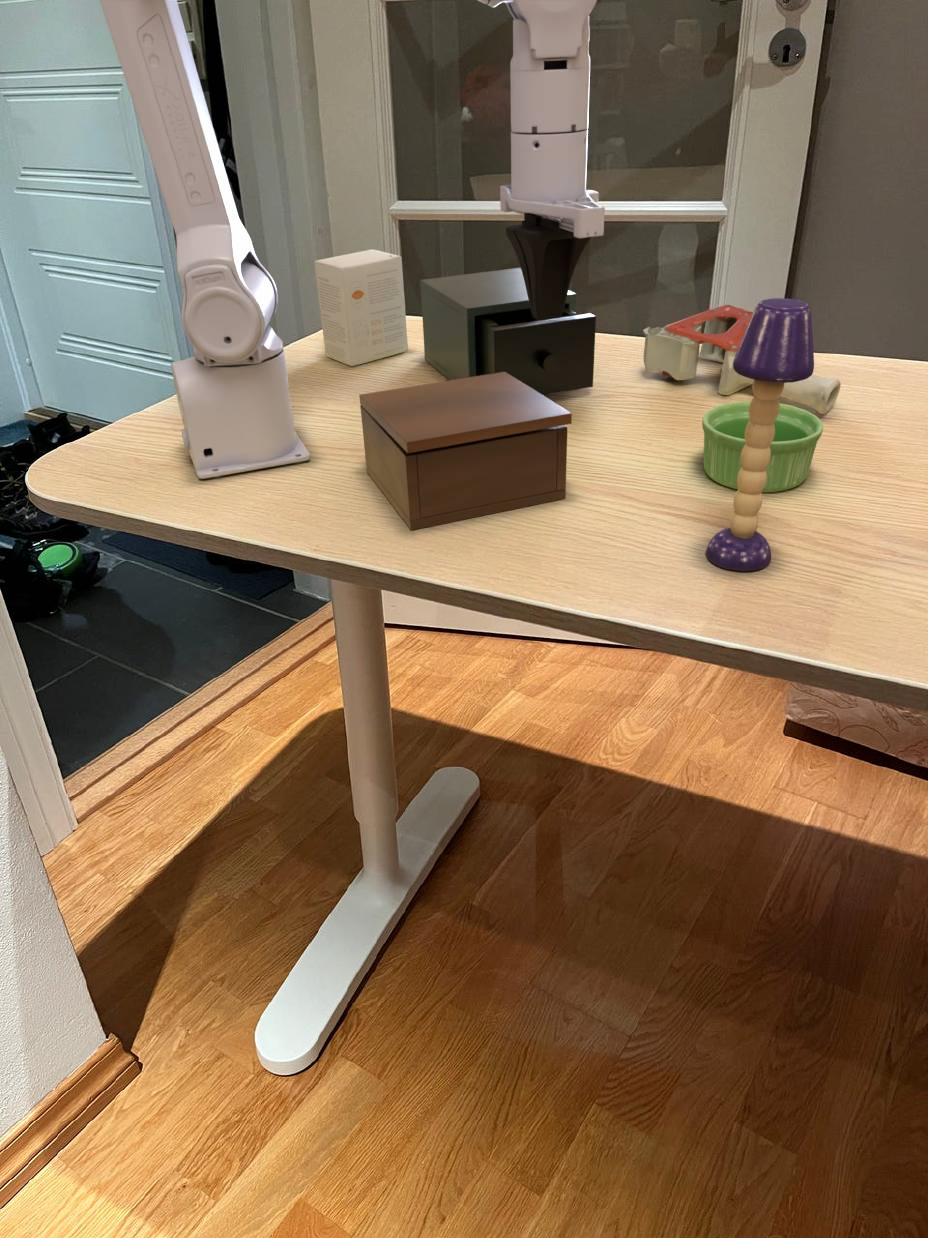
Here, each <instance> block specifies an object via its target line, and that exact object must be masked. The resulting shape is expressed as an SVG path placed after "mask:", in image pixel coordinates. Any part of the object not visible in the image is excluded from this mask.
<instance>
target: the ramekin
mask: <svg viewBox="0 0 928 1238" xmlns="http://www.w3.org/2000/svg"><path fill="white" fill-rule="evenodd" d="M751 401H752V400H744V401H735V402H728V403H724V404H720V405H719V404H718V405H717V406H714V407H711V408H710V409H709V410H707V411H706V412H705V413H704V414H703V416H702V419H701V425H702V430H703V469H704V471H705V473H706V475H707V476H708V477H709V478H710V479H711V480H712V481H714V482H716V483H718V484H720V485H723V486H724V487H728V488H731V489H734V490H738V486H737V477H738V473H739V471H740V469H741V468H742V464H741V452H742V449H743V447H744V446H745V444H746V441H745V430H746V426H747V424H748V422H749V421H750V418H749V405H750V403H751ZM779 404H780V408H779V413H778V416H777V418H776V420H775V421H774V426H775V435H774V439H773V441H772V443H771V444H770V450H771V457H770V462H769V464H768V466H767V467H766V469H765V470H766V474H767V480H766V484H765V487H764V488H763V490H762V491H761V493H775V492H783V491H787V490H790V489H793V488H795V487H798V486H800V485H801V484H802V483H803V482H805V481H806V479H807V477H808V475H809V472H810V469H811V466H812V465H811V464H812V461H813V458H814V454H815V450H816V448H817V445H818V444H817V443H818V442H819V440H820V438H821V437H822V434H823V432H824V423H823V422H822V420H821V419H820V418H819V417H818V416H817V415H815V414H814V413H811V412H810V411H808V410H805V409H803V408H800V407H797V406H794V405H790V404H785V403H781V402H779Z"/></svg>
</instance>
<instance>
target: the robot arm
mask: <svg viewBox="0 0 928 1238" xmlns="http://www.w3.org/2000/svg"><path fill="white" fill-rule="evenodd" d="M477 1H478V2H480V3H482V4H484V5H487V6H489V7H491V8H496V7H497V6H499V5H500V4H502V3H505V5H506V7H507V10H508V12H509V13H510V15H511V17H512V18H513V20H512V57H511V59H510V65H509V66H510V67H509V68H510V69H509V70H510V74H509V75H510V78H509V79H510V184H505V185H503V184H502V185H500V187H499V191H500V193H499V195H500V196H499V197H500V203H499V204H500V211H501V212H503V213H511V212H513V213H516V214H519V215H522V216H523V220H522V221H521V224H514V225H508V226H506V227H505V234H506V237H507V239H508V240H509V242H510V245H511V247H512V249H513V250H514V253H515V256H516V258H517V260H518V264H519V268H521V270H522V273H523V277H524V281H525V286H526V291H527V295H528V300H529V305H530V309H531V313H532V316H533V318H535V319H537V320H539V321H542V320H549V319H556V318H561V316H562V313H563V309H564V306H565V302H566V298H567V294H568V290H569V289H570V285H571V282H572V279H573V276H574V273H575V269H576V267H577V265H578V263H579V260H580V258H581V255H582V254H583V252H584V250H585V248H586V246H587V245H588V243H589V242H590V240H591V238H594V237H603V236H604V234H605V212H606V209H605V206H602V205H601V204H598V202H599V200H600V198H599V197H600V192H598V191H596V190H592V189H587V169H588V168H587V167H588V166H587V165H588V139H589V138H588V136H589V135H588V134H589V130H588V129H589V110H590V109H589V108H590V84H591V83H590V82H591V81H590V80H591V79H590V77H591V56H590V54H589V45H590V44H589V42H590V38H591V30H590V29H591V28H590V16H589V15H590V14H591V12H592V11H593V9H594V7H595V6H596V4H597V2H598V0H477ZM99 2H100V5H101V9H102V11H103V14H104V18H105V21H106V24H107V27H108V30H109V33H110V36H111V39H112V42H113V46H114V48H115V51H116V55H117V57H118V60H119V65H120V66H121V67H120V68H121V70H122V73H123V76H124V80H125V82H126V86H127V88H128V91H129V95H130V99H131V101H132V104H133V107H134V110H135V113H136V116H137V120H138V122H139V126H140V128H141V132H142V135H143V138H144V141H145V144H146V147H147V150H148V154H149V157H150V160H151V163H152V165H153V166H152V167H153V169H154V172H155V175H156V178H157V181H158V184H159V187H160V190H161V193H162V196H163V198H164V203H165V205H166V209H167V212H168V214H169V218H170V221H171V224H172V227H173V230H174V233H175V237H176V239H175V240H176V270H177V275H178V277H179V281H180V285H181V287H182V288H181V289H182V298H183V299H182V304H181V311H180V320H181V325H182V329H183V332H184V334H185V336H186V338H187V341H188V342H189V343H190V344H191V346H192V347H193V349H192V350H193V356H190V357H188V358H185V359H182V360H176V361H172V362H171V363H170V368H171V373H172V374H171V375H172V379H173V384H174V389H175V393H176V394H175V395H176V398H177V403H178V408H179V412H180V417H181V422H182V427H183V428H182V429H181V430H180V431H181V437H182V441H183V445H184V449H185V451H188V453H189V456H190V459H191V461H192V464H193V467H194V470H195V473H196V476H197V478H198V479H200V480H204V479H210V478H215V477H216V478H217V477H223V476H227V475H231V474H232V475H234V474H239V473H244V472H250V471H255V470H261V469H267V468H272V467H279V466H285V465H291V464H295V463H301V462H306V461H309V460H310V459H311V455H310V452H309V451H308V450H307V448H306V446H305V445H304V443H303V442H302V440H301V439H300V437H299V436H298V434H297V433H296V426H295V418H294V412H293V406H292V398H291V397H292V396H291V391H290V384H289V377H288V370H287V364H286V355H285V350H284V343H283V340H282V339H281V338H280V337H279V335H277V333H276V332H275V331H274V329H273V327H272V326H271V324H270V322H271V321H272V320H273V319H274V317H275V314H276V312H277V309H278V304H279V303H278V302H279V294H278V289H277V285H276V282H275V281H274V277H272V275H271V274H270V272H269V271H268V270H267V269H266V268H265V266H264V265H263V264H262V263H261V262H260V260H259V258H258V256H257V255H256V252H255V248H254V246H253V242H252V239H251V236H250V235H249V233H248V231H247V229H246V228H245V226H244V225H243V223H242V220H241V219H240V217H239V213H238V210H237V206H236V203H235V200H234V195H233V192H232V188H231V185H230V182H229V178H228V174H227V172H226V168H225V165H224V161H223V158H222V157H223V156H222V154H221V150H220V147H219V143H218V140H217V136H216V133H215V129H214V127H213V123H212V120H211V116H210V112H209V109H208V105H207V101H206V98H205V94H204V90H203V87H202V85H201V84H202V83H201V80H200V77H199V73H198V70H197V66H196V63H195V60H194V59H195V58H194V56H193V52H192V48H191V46H190V42H189V38H188V35H187V32H186V28H185V25H184V21H183V17H182V14H181V11H180V7H179V3H178V0H99ZM569 291H570V290H569Z"/></svg>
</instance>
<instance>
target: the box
mask: <svg viewBox="0 0 928 1238" xmlns="http://www.w3.org/2000/svg"><path fill="white" fill-rule="evenodd" d="M359 407H360V415H361V426H362V437H363V447H364V457H365V465H366V467H365V468H366V472H367V474H368V476H369V477H370V478H371V479H372V481H373V482H374V483H375V485H376V486H377V487H378V489H379V490H380V491H381V492H382V494H383V495H384V496H385V498H386V500H388V502H389V503H390V505H391V506H392V507H393V508H394V510H395V512H397V514H398V515H399V516H400V518H401V519H402V520H403V522H404V523H405V525H406V526H407V527H408V529H410V531H414V530H419V529H420V530H421V529H424V528H428V527H434V526H439V525H443V524H449V523H452V522H457V521H462V520H468V519H472V518H477V517H482V516H487V515H492V514H498V513H502V512H506V511H511V510H516V509H521V508H526V507H531V506H535V505H540V504H545V503H550V502H554V501H555V502H556V501H559V500H564V499H566V497H567V496H566V491H567V490H566V489H567V462H568V461H567V459H568V457H567V456H568V426H567V425H561V426H556V427H550V428H544V429H539V430H533V431H528V432H522V433H517V434H511V435H506V436H500V437H495V438H489V439H483V440H478V441H472V442H467V443H461V444H456V445H450V446H445V447H439V448H434V449H428V450H422V451H417V452H411V453H407V452H406V451H405V450H404V449H403V448H402V447H401V446H400V445H399V444H398V443H397V442H396V441H395V439H394V438H393V437H392V436H391V435H390V434H389V433H388V432H387V431H386V430H385V429H384V428H383V427H382V426H381V425H380V424H379V423H378V422H377V421H376V420H375V419H374V418H373V417H372V416H371V415H370V414H369V413H368V412H367V411H366V410H365V409H364V408H363V407H362V406H361V404H359Z"/></svg>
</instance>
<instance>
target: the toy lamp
mask: <svg viewBox="0 0 928 1238" xmlns="http://www.w3.org/2000/svg"><path fill="white" fill-rule="evenodd" d="M752 312H753V315H752V317H751V319H750V322H749V324H748V326H747V329H746V331H745V333H744V336H743V338H742V340H741V343H740V345H739V348H738V350H737V353H736V355H735V358H734V361H733V369H734V370H735V372H737V373H738V374H739V375H742V376H744V377H747V378H750V379H754V381H753V384H752V393H753V397H752V399H751V400H750V401H751V403H750V405H749V418H750V421H749V422H748V424H747V426H746V430H745V441H746V444H745V446H744V447H743V449H742V452H741V464H742V468H741V469H740V471H739V473H738V477H737V486H738V489H736V490H737V491H736V492H735V494H734V497H733V510H734V511H733V512H732V515H731V516H730V521H729V527H727V528H724V529H722V530H720V531H718V532H716V533H715V534H714V536H713V537H712V538H711V539H710V541H709V542H708V544H707V547H706V550H705V555H706V557H707V559H708V560H709V561H710V562H711V563H712V564H714V565H716V566H717V567H721V568H723V569H725V570H732V571H738V572H754V571H759V570H761V569H765V568H766V567H767V566H769V565H770V564H771V562H772V550H771V546H770V544H769V542H768V540H767V539H766V538H765V536H764V535H762V533H760V532H759V531H757V529H758V526H759V516H758V513H759V511H760V510H761V508H762V505H763V494H762V493H763V492H761V491H762V490H763V488H764V487H765V484H766V480H767V474H766V470H765V469H766V467H767V466H768V464H769V462H770V457H771V450H770V444H771V443H772V441H773V439H774V435H775V426H774V421H775V420H776V418H777V416H778V413H779V408H780V404H781V403H780V400H779V398H780V397H781V396H780V395H781V394H782V391H783V388H784V383H788V382H790V383H792V382H797V381H801V380H805V379H807V378H809V377H810V376H811V375H812V374H814V370H815V356H814V355H815V353H814V335H813V323H812V322H813V321H812V319H813V318H812V309H811V307H810V305H809V304H808V303H807V302H805V301H802V300H799V299H793V298H784V297H782V298H781V297H777V298H776V297H775V298H765V299H762V300H761V301H759V302H758V303H757V305H756V306H755V308H754V311H752ZM779 403H780V404H779Z"/></svg>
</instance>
